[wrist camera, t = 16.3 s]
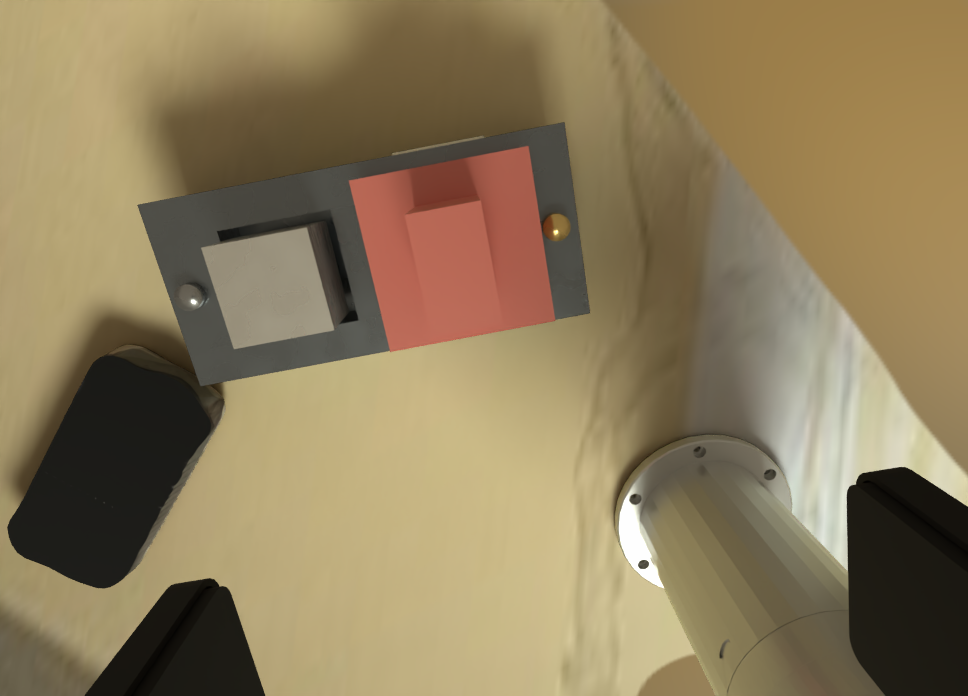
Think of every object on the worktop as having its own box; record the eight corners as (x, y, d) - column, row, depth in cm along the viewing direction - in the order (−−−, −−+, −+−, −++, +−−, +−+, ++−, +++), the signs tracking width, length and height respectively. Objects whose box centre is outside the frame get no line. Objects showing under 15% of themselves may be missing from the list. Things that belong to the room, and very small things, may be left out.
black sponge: (142, 566, 44) (114, 601, 40) (29, 512, 42) (-10, 543, 38) (245, 390, 40) (224, 411, 36) (126, 324, 38) (92, 339, 35)
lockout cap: (547, 307, 32) (573, 350, 25) (396, 335, 33) (376, 386, 25) (521, 148, 30) (542, 141, 22) (359, 179, 30) (324, 183, 23)
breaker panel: (570, 291, 38) (604, 329, 29) (238, 353, 39) (171, 410, 30) (547, 126, 35) (576, 111, 26) (188, 195, 36) (95, 205, 27)
